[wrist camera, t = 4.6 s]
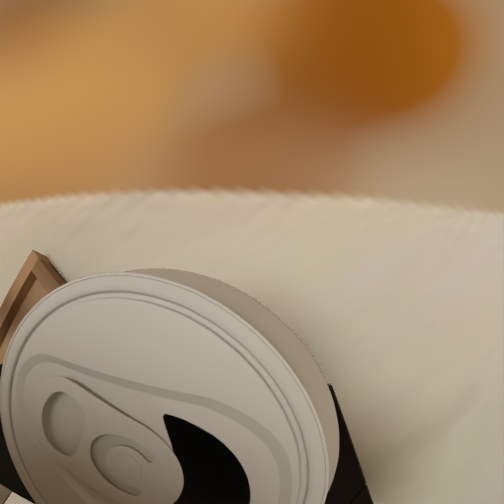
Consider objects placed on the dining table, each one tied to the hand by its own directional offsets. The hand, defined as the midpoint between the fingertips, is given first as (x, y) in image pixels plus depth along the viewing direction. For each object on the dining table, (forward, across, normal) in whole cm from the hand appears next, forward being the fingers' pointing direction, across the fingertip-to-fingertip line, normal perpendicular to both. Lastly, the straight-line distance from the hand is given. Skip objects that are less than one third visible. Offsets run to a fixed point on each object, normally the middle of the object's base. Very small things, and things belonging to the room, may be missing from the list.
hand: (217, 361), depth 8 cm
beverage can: (+4, 0, +6) cm, 7 cm away
